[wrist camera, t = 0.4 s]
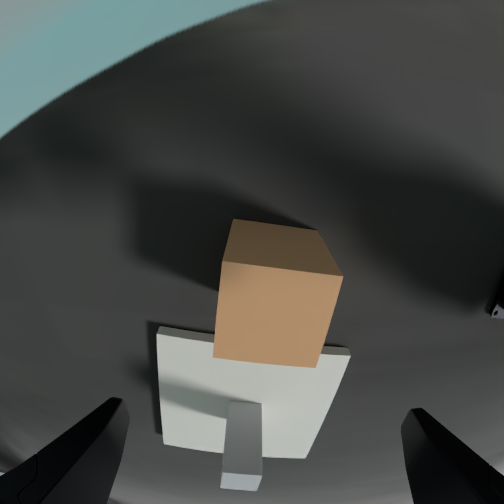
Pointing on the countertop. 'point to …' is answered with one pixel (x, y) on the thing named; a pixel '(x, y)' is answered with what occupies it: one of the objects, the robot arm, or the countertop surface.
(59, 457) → the robot arm
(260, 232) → the tan wooden brick
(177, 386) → the post stand
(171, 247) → the countertop surface
